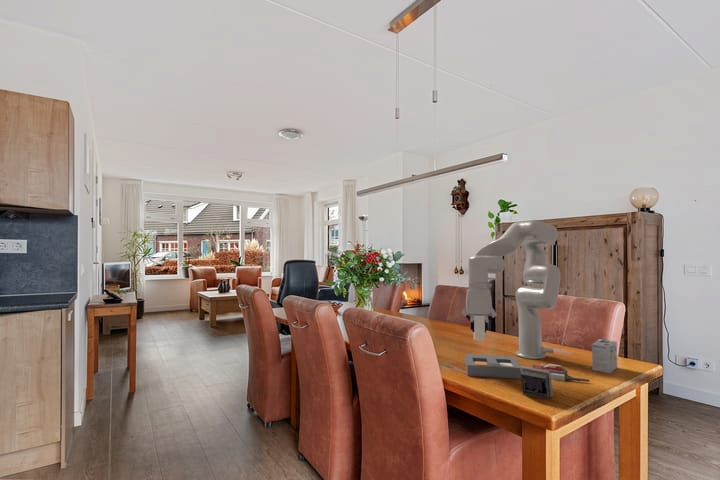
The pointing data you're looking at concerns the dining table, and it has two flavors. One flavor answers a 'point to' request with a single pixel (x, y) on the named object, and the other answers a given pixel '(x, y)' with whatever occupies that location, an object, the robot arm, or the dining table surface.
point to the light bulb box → (604, 355)
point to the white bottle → (479, 327)
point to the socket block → (492, 366)
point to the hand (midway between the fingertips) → (479, 331)
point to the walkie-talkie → (558, 372)
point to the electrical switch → (536, 382)
